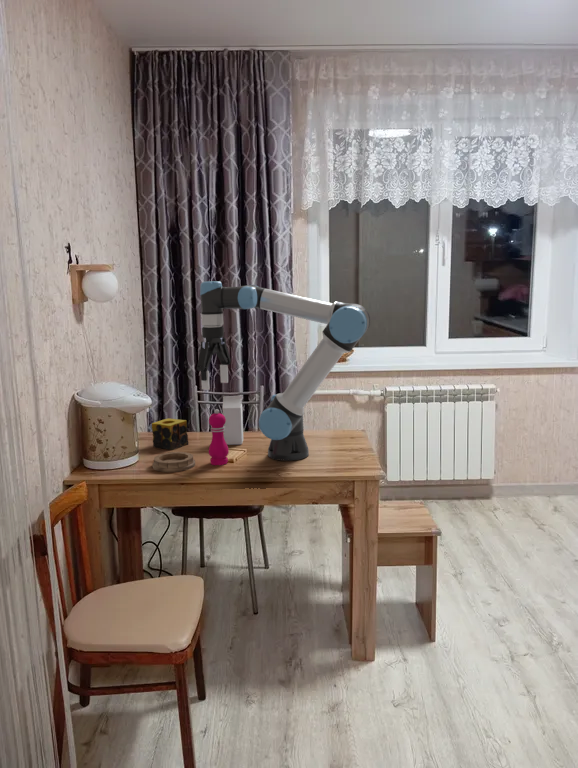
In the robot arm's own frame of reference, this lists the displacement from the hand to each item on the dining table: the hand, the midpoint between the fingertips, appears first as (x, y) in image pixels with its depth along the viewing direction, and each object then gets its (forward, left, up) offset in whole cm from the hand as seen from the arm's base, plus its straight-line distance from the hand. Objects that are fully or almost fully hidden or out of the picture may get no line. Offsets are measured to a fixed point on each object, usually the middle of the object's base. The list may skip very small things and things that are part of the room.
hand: (215, 386), depth 241 cm
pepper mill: (0, 0, -28) cm, 29 cm away
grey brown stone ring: (+14, +8, -28) cm, 33 cm away
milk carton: (+8, -27, -28) cm, 40 cm away
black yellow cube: (+30, -15, -29) cm, 44 cm away
